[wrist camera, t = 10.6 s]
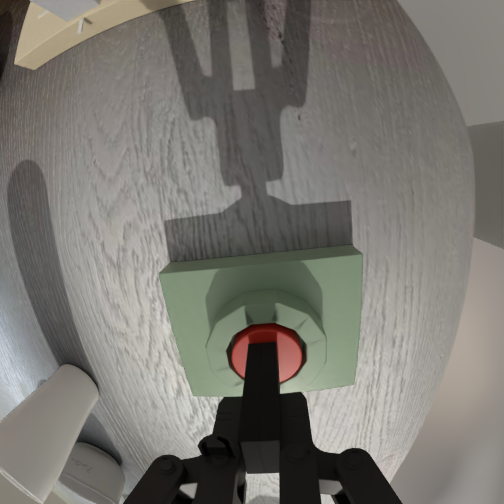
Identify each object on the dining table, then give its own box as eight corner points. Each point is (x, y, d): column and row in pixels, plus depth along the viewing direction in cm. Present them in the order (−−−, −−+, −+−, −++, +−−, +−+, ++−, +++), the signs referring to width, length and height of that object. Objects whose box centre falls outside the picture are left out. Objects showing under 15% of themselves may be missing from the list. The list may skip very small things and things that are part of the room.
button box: (352, 244, 17) (373, 263, 13) (347, 367, 20) (360, 401, 16) (169, 262, 18) (146, 284, 14) (199, 378, 20) (187, 412, 17)
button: (298, 311, 16) (301, 326, 14) (300, 364, 17) (303, 381, 15) (229, 317, 16) (225, 332, 14) (239, 368, 17) (236, 386, 15)
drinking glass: (51, 346, 21) (-34, 434, 7) (104, 372, 21) (24, 487, 7) (62, 389, 23) (-2, 472, 9) (110, 413, 23) (54, 513, 9)
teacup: (100, 435, 25) (76, 478, 17) (146, 478, 27) (132, 517, 20) (48, 428, 27) (27, 459, 19) (89, 468, 29) (74, 498, 22)
